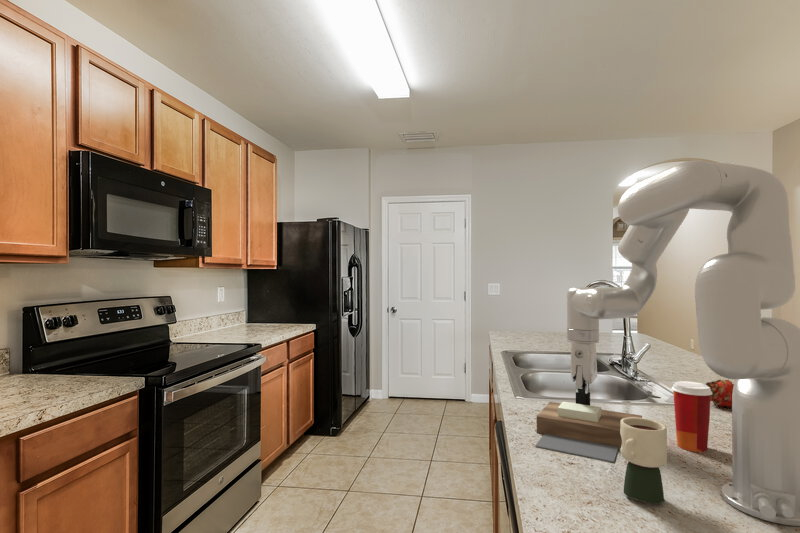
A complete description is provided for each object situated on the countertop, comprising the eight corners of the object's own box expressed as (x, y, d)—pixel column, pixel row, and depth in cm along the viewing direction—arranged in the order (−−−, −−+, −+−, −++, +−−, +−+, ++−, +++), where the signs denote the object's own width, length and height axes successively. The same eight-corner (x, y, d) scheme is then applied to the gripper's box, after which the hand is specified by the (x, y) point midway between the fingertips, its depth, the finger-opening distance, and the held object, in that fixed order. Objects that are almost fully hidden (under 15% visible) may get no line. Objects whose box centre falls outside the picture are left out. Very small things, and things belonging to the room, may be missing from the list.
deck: (638, 451, 97) (638, 433, 97) (536, 432, 109) (536, 416, 109) (642, 431, 109) (642, 415, 109) (550, 416, 121) (550, 401, 121)
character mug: (638, 481, 83) (638, 412, 84) (679, 497, 78) (679, 423, 78) (606, 499, 77) (606, 424, 77) (649, 517, 71) (648, 436, 71)
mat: (613, 462, 92) (613, 461, 92) (535, 446, 100) (535, 445, 100) (618, 448, 99) (618, 446, 99) (545, 434, 108) (545, 433, 108)
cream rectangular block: (597, 422, 104) (597, 413, 104) (557, 415, 109) (557, 407, 109) (601, 415, 109) (601, 407, 109) (563, 409, 114) (563, 401, 114)
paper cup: (704, 442, 102) (704, 381, 102) (719, 456, 95) (718, 390, 95) (666, 439, 104) (666, 379, 105) (677, 452, 97) (677, 387, 97)
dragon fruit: (708, 414, 127) (729, 414, 133) (737, 403, 122) (757, 403, 127) (691, 386, 132) (712, 387, 138) (718, 374, 126) (739, 375, 132)
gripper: (594, 341, 105) (594, 418, 105) (603, 333, 118) (603, 402, 117) (561, 338, 109) (561, 413, 109) (573, 331, 122) (573, 398, 121)
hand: (582, 407), depth 113 cm, fingers closed
